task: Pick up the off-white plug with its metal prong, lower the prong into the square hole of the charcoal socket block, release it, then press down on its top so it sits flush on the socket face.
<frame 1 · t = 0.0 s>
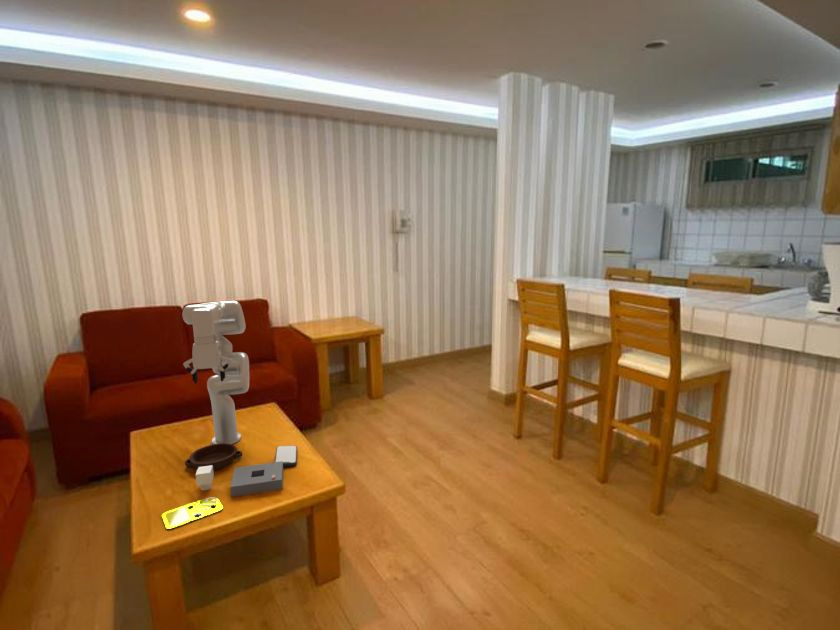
hand: (209, 381, 183), 37 cm above the table, tool pointing down, fingers open, 9 cm apart
socket: (258, 482, 177), on the table
game console: (193, 514, 159), on the table
plug: (206, 487, 174), on the table
smartphone: (286, 457, 195), on the table
dish: (214, 464, 192), on the table
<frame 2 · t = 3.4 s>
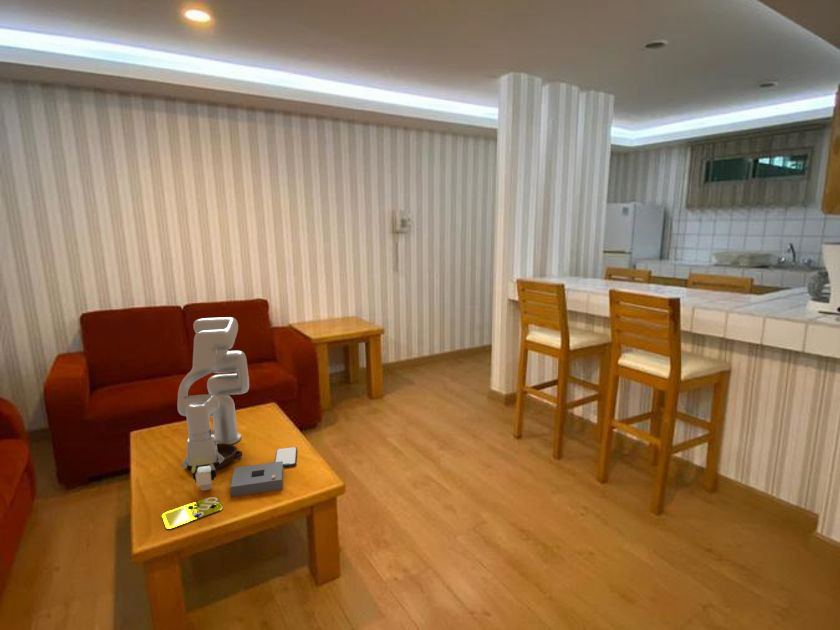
hand: (205, 479, 173), 4 cm above the table, tool pointing down, fingers closed on plug, 5 cm apart
plug: (206, 487, 174), on the table, touching gripper
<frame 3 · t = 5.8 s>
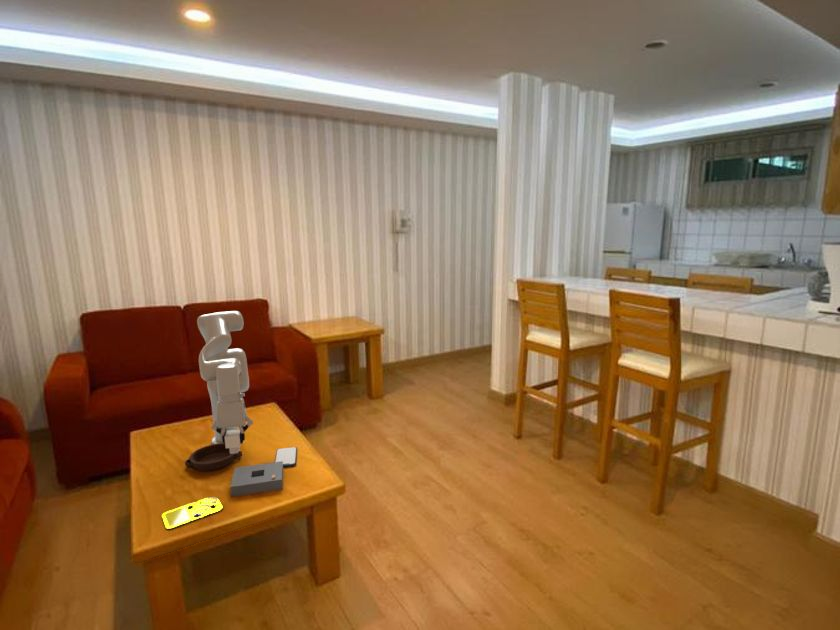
hand: (234, 442, 172), 18 cm above the table, tool pointing down, fingers closed on plug, 5 cm apart
plug: (234, 451, 173), point 14 cm above the table, touching gripper
when the fingers open (6 cm above the table, at t = 8.5 s): plug drops 1 cm, resting on socket.
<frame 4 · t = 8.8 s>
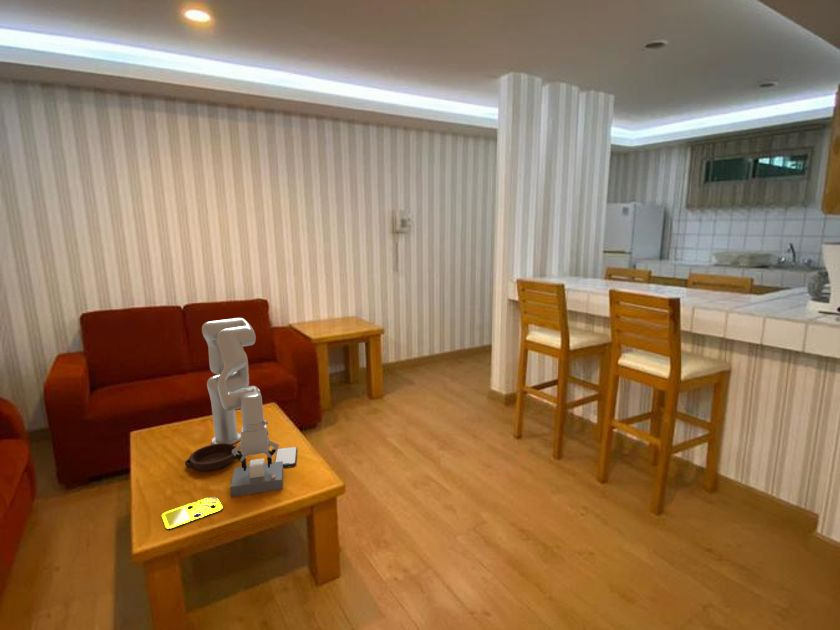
hand: (257, 467, 176), 7 cm above the table, tool pointing down, fingers open, 8 cm apart
plug: (258, 480, 177), point 1 cm above the table, touching socket
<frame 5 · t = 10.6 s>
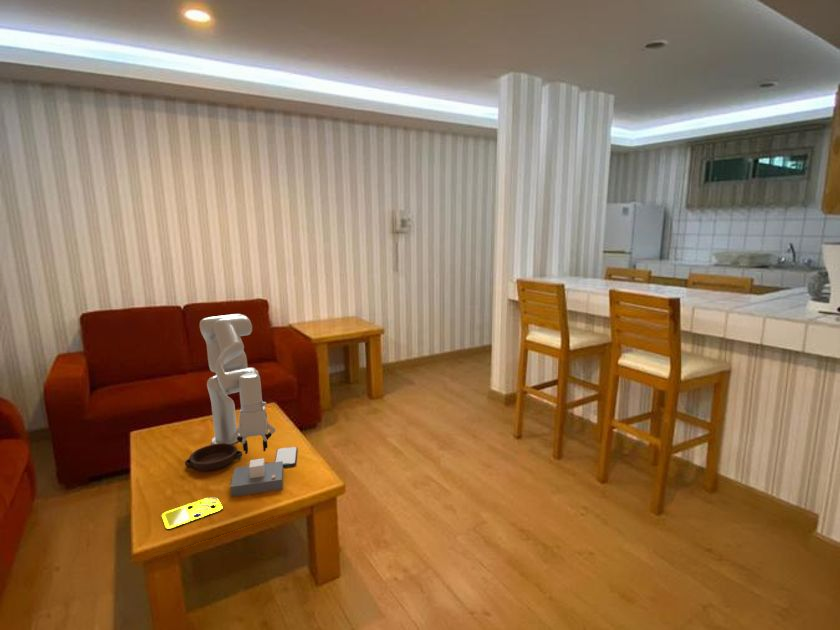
hand: (255, 450, 174), 14 cm above the table, tool pointing down, fingers open, 5 cm apart
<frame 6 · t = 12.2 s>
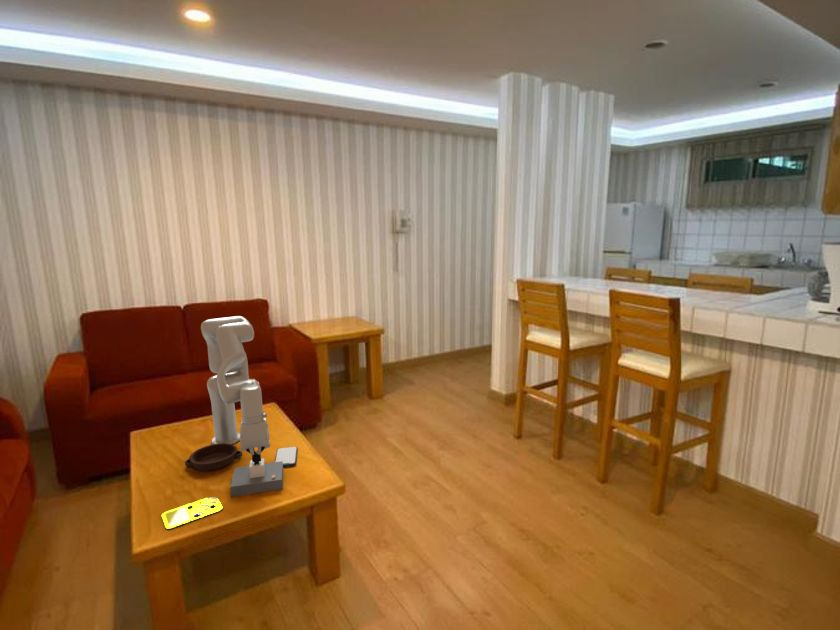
hand: (257, 462, 175), 8 cm above the table, tool pointing down, fingers closed
plug: (258, 480, 177), point 1 cm above the table, touching gripper, socket
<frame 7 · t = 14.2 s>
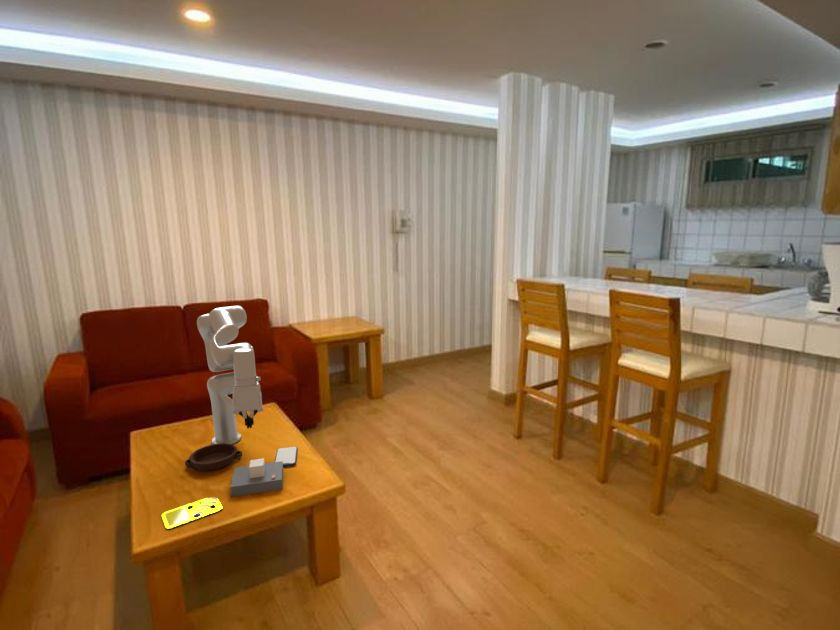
hand: (249, 426, 175), 22 cm above the table, tool pointing down, fingers closed
plug: (258, 480, 177), point 1 cm above the table, touching socket
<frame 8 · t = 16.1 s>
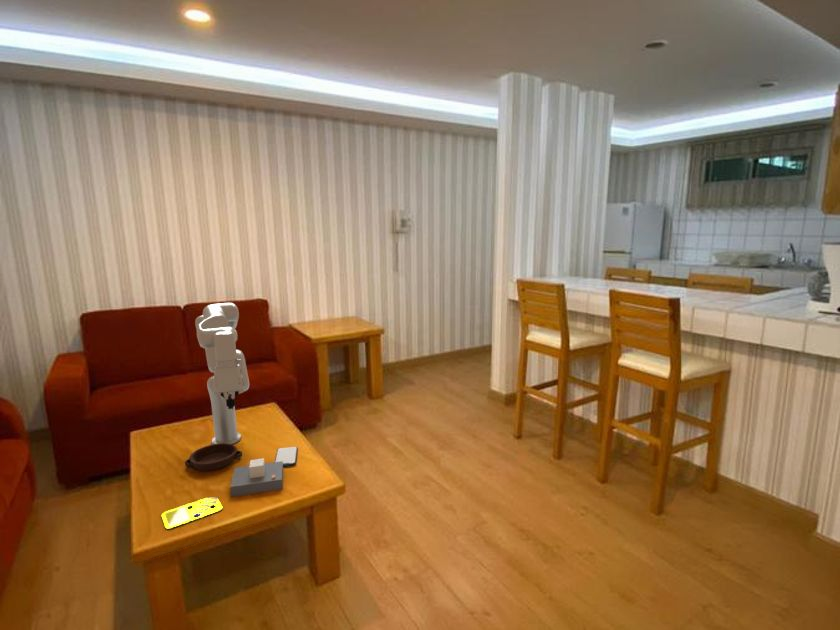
hand: (231, 407, 181), 27 cm above the table, tool pointing down, fingers closed
at the end: plug 0.0 cm off-centre on the socket, point 1.0 cm above the socket's base; plug tilted 0°; the gripper is holding nothing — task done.
